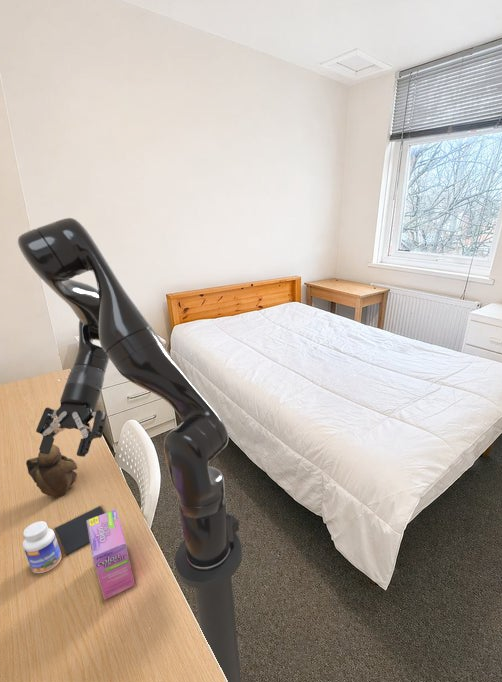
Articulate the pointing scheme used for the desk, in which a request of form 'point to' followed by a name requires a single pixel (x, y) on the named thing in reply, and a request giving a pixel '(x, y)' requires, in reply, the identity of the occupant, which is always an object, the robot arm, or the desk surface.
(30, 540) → the pill bottle
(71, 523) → the pad
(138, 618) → the desk surface
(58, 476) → the sculpture
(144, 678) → the desk surface
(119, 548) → the box
